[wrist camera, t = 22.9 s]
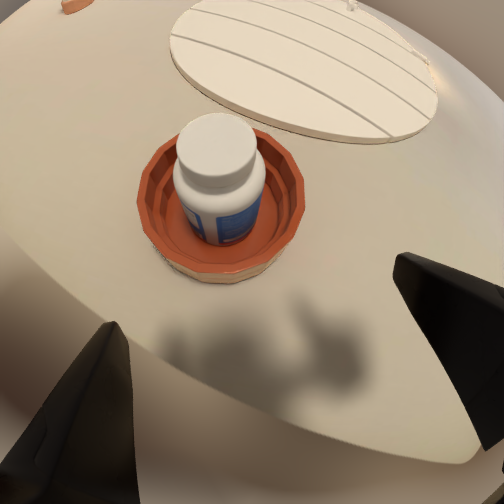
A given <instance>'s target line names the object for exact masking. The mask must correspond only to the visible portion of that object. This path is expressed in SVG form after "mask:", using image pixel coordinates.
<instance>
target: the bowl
mask: <svg viewBox="0 0 504 504" xmlns="http://www.w3.org/2000/svg"><path fill="white" fill-rule="evenodd" d="M252 129H253V131H254V133H255V136H256V140H257V150H258V151H259V152H260V154H261V156H262V158H263V160H264V164H265V170H266V175H265V184H264V188H263V193H262V198H261V202H260V207H259V212H258V216H257V220H256V223H255V225H254V227H253V229H252V231H251V232H250V233H249V234H248V235H247V236H246V237H245V238H244V239H243V240H241V241H239V242H237V243H235V244H232V245H228V246H217V245H212V244H210V243H207V242H205V241H204V240H202V239H201V238H200V237H198V236H197V235H196V233H195V232H194V231H193V229H192V228H191V226H190V223H189V221H188V219H187V216H186V214H185V212H184V209H183V207H182V204H181V202H180V200H179V197H178V195H177V192H176V189H175V186H174V181H173V170H174V165H175V162H176V159H177V157H178V156H177V151H176V143H177V139H178V136H179V134H180V133H179V134H178V135H176V136H175V137H173V138H172V139H171V140H169V141H168V142H166V143H165V144H164V145H162V146H161V147H160V148H158V150H157V151H156V153H155V154H154V156H153V157H152V158H151V160H150V161H149V163H148V164H147V166H146V167H145V169H144V170H143V172H142V176H141V181H140V186H139V191H138V196H137V207H138V211H139V215H140V219H141V223H142V227H143V231H144V233H145V234H146V235H147V236H148V238H149V239H150V240H151V241H152V243H153V244H154V245H155V246H156V247H157V249H158V250H159V251H160V252H161V253H162V255H163V256H164V257H165V258H166V259H167V260H168V261H169V262H170V263H171V264H172V265H173V266H174V267H175V268H176V269H177V270H178V271H181V272H183V273H185V274H187V275H189V276H191V277H193V278H195V279H197V280H199V281H201V282H207V283H229V284H232V283H236V282H239V281H242V280H244V279H247V278H250V277H252V276H255V275H258V274H260V273H262V272H263V271H264V270H265V269H266V268H267V267H268V266H269V265H270V264H271V263H272V262H273V261H274V260H276V259H277V258H278V257H279V256H280V255H281V254H282V252H283V251H284V250H285V248H286V247H287V246H288V244H289V243H290V241H291V240H292V239H293V237H294V235H295V233H296V230H297V228H298V225H299V223H300V221H301V218H302V216H303V213H304V211H305V193H304V179H303V176H302V174H301V172H300V170H299V168H298V167H297V165H296V163H295V161H294V159H293V157H292V155H291V153H290V152H289V151H287V150H286V149H285V148H284V147H283V146H282V145H281V144H279V143H278V142H277V141H276V140H275V139H274V138H272V137H271V136H270V135H268V134H267V133H264V132H262V131H259V130H257V129H254V128H252Z"/></svg>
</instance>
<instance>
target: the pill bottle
mask: <svg viewBox="0 0 504 504" xmlns="http://www.w3.org/2000/svg"><path fill="white" fill-rule="evenodd" d="M176 151H177V156H178V157H177V159H176V162H175V165H174V170H173V181H174V186H175V189H176V192H177V195H178V197H179V200H180V202H181V204H182V207H183V209H184V212H185V214H186V216H187V219H188V221H189V223H190V226H191V228H192V229H193V231H194V232H195V233H196V235H197V236H198V237H200V238H201V239H202V240H204V241H205V242H207V243H210V244H212V245H217V246H228V245H232V244H235V243H237V242H239V241H241V240H243V239H244V238H245V237H246V236H247V235H248V234H249V233H250V232H251V231H252V229H253V227H254V225H255V223H256V220H257V216H258V212H259V207H260V202H261V198H262V193H263V188H264V184H265V175H266V170H265V164H264V160H263V158H262V156H261V154H260V152H259V151H258V150H257V140H256V136H255V133H254V131H253V129H252V128H251V126H250V125H249V124H248V123H247V122H246V121H244V120H243V119H241V118H239V117H237V116H235V115H231V114H227V113H210V114H206V115H202V116H200V117H197V118H195V119H194V120H192V121H191V122H189V123H188V124H187V125H186V126H185V127H184V128H183V129H182V131H181V132H180V134H179V136H178V139H177V143H176Z"/></svg>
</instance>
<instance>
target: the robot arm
mask: <svg viewBox="0 0 504 504" xmlns="http://www.w3.org/2000/svg"><path fill="white" fill-rule="evenodd" d="M393 280H394V283H395V284H396V286H397V288H398V290H399V292H400V293H401V295H402V297H403V299H404V301H405V303H406V305H407V307H408V309H409V310H410V312H411V314H412V316H413V318H414V319H415V321H416V322H417V324H418V326H419V327H420V329H421V330H422V332H423V333H424V335H425V337H426V338H427V340H428V342H429V343H430V345H431V347H432V348H433V350H434V352H435V353H436V355H437V357H438V358H439V360H440V362H441V364H442V365H443V367H444V369H445V371H446V373H447V374H448V376H449V378H450V380H451V382H452V384H453V385H454V387H455V389H456V391H457V393H458V395H459V397H460V399H461V401H462V403H463V405H464V407H465V409H466V411H467V413H468V415H469V417H470V420H471V422H472V424H473V426H474V428H475V430H476V433H477V435H478V437H479V440H480V442H481V444H482V447H483V449H484V450H485V451H487V450H488V449H490V448H491V447H493V446H494V445H495V444H497V443H498V442H500V441H501V440H502V439H503V438H504V288H503V287H500V286H498V285H495V284H493V283H490V282H488V281H485V280H483V279H480V278H478V277H475V276H473V275H470V274H467V273H465V272H462V271H459V270H457V269H454V268H451V267H449V266H446V265H443V264H441V263H438V262H435V261H432V260H429V259H427V258H424V257H421V256H418V255H415V254H412V253H410V252H404V253H401V254H398V255H397V257H396V260H395V265H394V270H393ZM502 472H503V473H504V462H503V467H502ZM0 504H140V498H139V491H138V482H137V472H136V462H135V447H134V429H133V389H132V379H131V368H130V356H129V345H128V341H127V339H126V337H125V335H124V334H123V332H122V330H121V328H120V327H119V325H118V323H117V322H115V321H112V322H106V323H103V324H102V325H101V326H100V328H99V329H98V330H97V331H96V333H95V334H94V335H93V336H92V338H91V339H90V341H89V342H88V343H87V344H86V345H85V347H84V348H83V349H82V351H81V352H80V353H79V355H78V356H77V357H76V359H75V360H74V361H73V363H72V364H71V365H70V367H69V368H68V369H67V371H66V372H65V373H64V375H63V376H62V378H61V379H60V380H59V382H58V383H57V385H56V386H55V387H54V389H53V390H52V392H51V393H50V394H49V396H48V397H47V399H46V400H45V402H44V403H43V405H42V407H41V408H40V409H39V411H38V412H37V414H36V415H35V417H34V418H33V419H32V421H31V423H30V424H29V425H28V427H27V428H26V430H25V431H24V432H23V434H22V435H21V437H20V438H19V439H18V440H17V442H16V443H15V445H14V446H13V447H12V449H11V450H10V451H9V452H8V454H7V455H6V457H5V458H4V459H3V461H2V462H1V463H0ZM482 504H504V483H503V484H502V485H501V486H500V487H499V488H498V489H497V490H496V491H495V492H494V493H493V494H492V495H491V496H489V497H488V499H486V500H485V501H484V502H483V503H482Z"/></svg>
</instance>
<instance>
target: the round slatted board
mask: <svg viewBox="0 0 504 504" xmlns="http://www.w3.org/2000/svg"><path fill="white" fill-rule="evenodd" d="M358 7H359V6H358V2H357V1H355V0H350V1H349V3H345V2H343V1H340V0H203V1H201V2H199V3H197V4H195V5H194V6H192V7H191V8H190V9H188V10H187V11H185V12H184V13H183V14H182V15H181V16H180V17H179V18H178V20H177V21H176V22H175V24H174V26H173V28H172V30H171V35H170V49H171V55H172V58H173V61H174V63H175V65H176V67H177V68H178V70H179V71H180V73H181V74H182V75H183V76H184V77H185V78H186V79H187V80H188V81H189V82H190V83H191V84H192V85H193V86H194V87H195V88H197V89H198V90H199V91H201V92H202V93H204V94H205V95H207V96H208V97H210V98H211V99H213V100H215V101H216V102H218V103H220V104H222V105H224V106H226V107H228V108H230V109H232V110H234V111H236V112H238V113H240V114H243V115H245V116H247V117H250V118H252V119H255V120H257V121H260V122H263V123H266V124H269V125H271V126H275V127H278V128H281V129H284V130H288V131H291V132H295V133H299V134H303V135H307V136H311V137H316V138H321V139H326V140H332V141H338V142H347V143H359V144H380V143H386V142H387V141H388V142H396V141H400V140H403V139H406V138H409V137H411V136H413V135H415V134H417V133H418V132H420V131H421V130H422V129H423V128H424V127H425V126H426V125H427V124H428V123H429V122H430V120H431V119H432V118H433V116H434V114H435V112H436V109H437V102H438V96H437V90H436V85H435V82H434V80H433V77H432V75H431V73H430V71H429V69H428V67H427V66H426V64H427V65H429V63H430V62H429V61H428V60H427V58H426V57H425V56H423V55H422V54H421V53H419V52H418V51H416V50H415V49H413V47H412V46H411V45H410V44H409V43H408V42H407V41H406V40H405V39H404V38H402V37H401V36H400V35H399V34H398V33H397V32H395V31H394V30H393V29H392V28H390V27H389V26H387V25H386V24H385V23H383V22H382V21H380V20H379V19H377V18H375V17H374V16H372V15H370V14H368V13H367V12H365V11H363V10H361V9H359V8H358Z"/></svg>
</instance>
